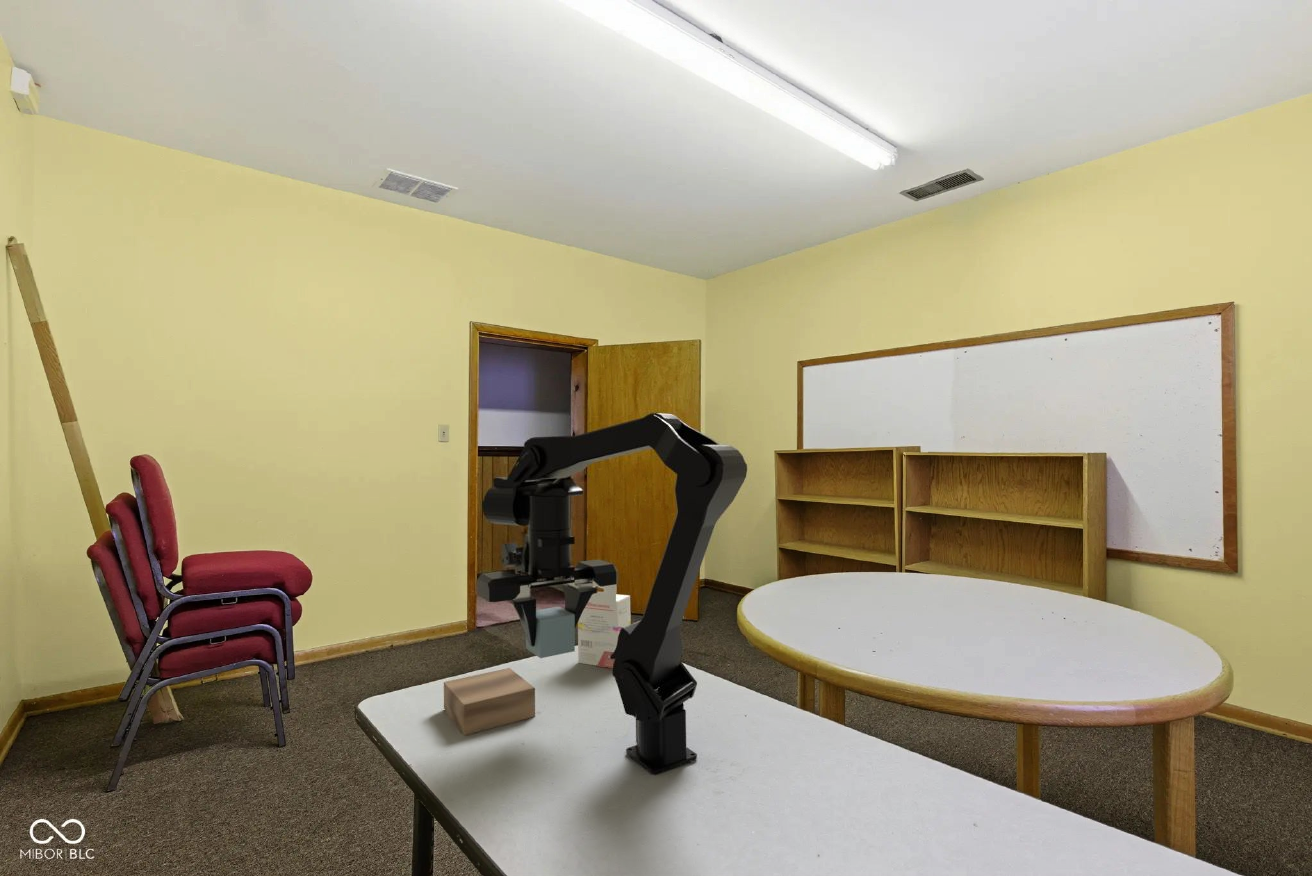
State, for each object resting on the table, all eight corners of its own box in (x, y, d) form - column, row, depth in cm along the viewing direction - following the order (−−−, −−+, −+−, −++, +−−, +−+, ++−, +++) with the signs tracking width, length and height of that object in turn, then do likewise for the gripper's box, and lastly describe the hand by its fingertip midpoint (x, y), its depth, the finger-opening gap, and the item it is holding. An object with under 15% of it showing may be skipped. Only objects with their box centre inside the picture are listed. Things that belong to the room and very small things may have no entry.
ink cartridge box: (633, 661, 111) (631, 578, 111) (618, 670, 106) (617, 583, 106) (592, 654, 115) (591, 574, 115) (576, 663, 110) (575, 579, 110)
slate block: (574, 651, 85) (574, 614, 85) (540, 658, 82) (540, 620, 82) (559, 641, 89) (559, 606, 89) (526, 648, 86) (525, 611, 86)
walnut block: (535, 716, 88) (534, 687, 88) (464, 735, 83) (464, 704, 83) (509, 693, 97) (509, 667, 97) (443, 709, 91) (443, 682, 91)
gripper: (583, 518, 98) (584, 618, 97) (464, 527, 87) (464, 639, 87) (619, 525, 88) (620, 636, 88) (490, 536, 78) (490, 661, 78)
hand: (550, 642), depth 86 cm, fingers closed on slate block, 5 cm apart
